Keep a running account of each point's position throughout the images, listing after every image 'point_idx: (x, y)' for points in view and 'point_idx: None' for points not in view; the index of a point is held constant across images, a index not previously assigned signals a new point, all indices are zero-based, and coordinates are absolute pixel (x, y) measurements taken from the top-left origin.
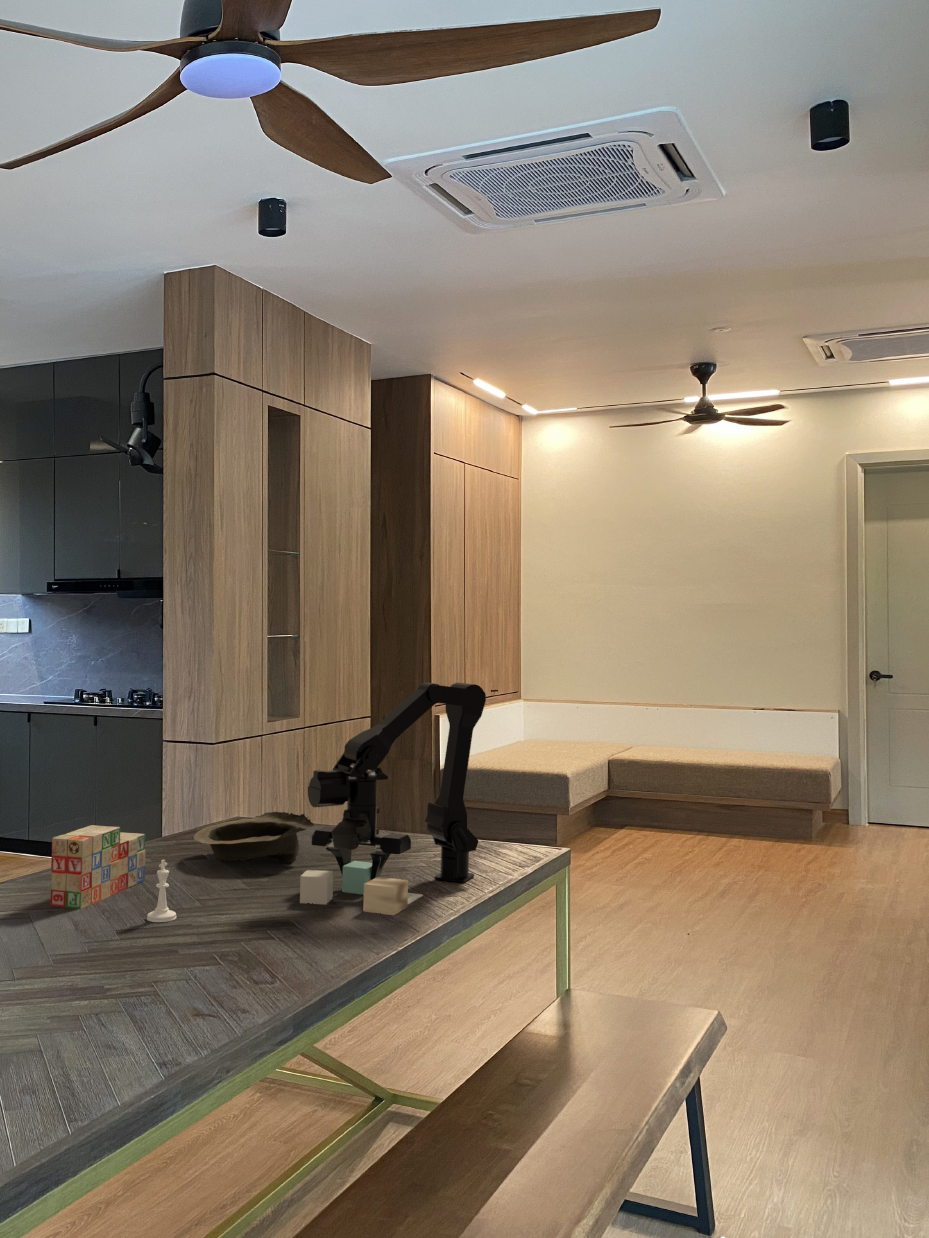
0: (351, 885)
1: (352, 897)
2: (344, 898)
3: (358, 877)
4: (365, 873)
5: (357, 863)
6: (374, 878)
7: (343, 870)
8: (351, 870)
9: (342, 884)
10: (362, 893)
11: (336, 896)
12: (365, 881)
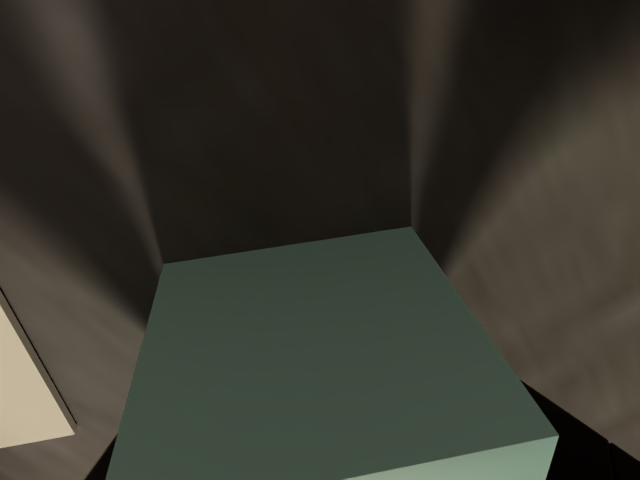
0: (330, 280)
1: (202, 105)
2: (251, 11)
3: (249, 365)
4: (128, 444)
5: None
6: (105, 457)
7: (505, 378)
8: (381, 417)
9: (435, 263)
10: (199, 262)
11: (379, 41)
12: (148, 354)
